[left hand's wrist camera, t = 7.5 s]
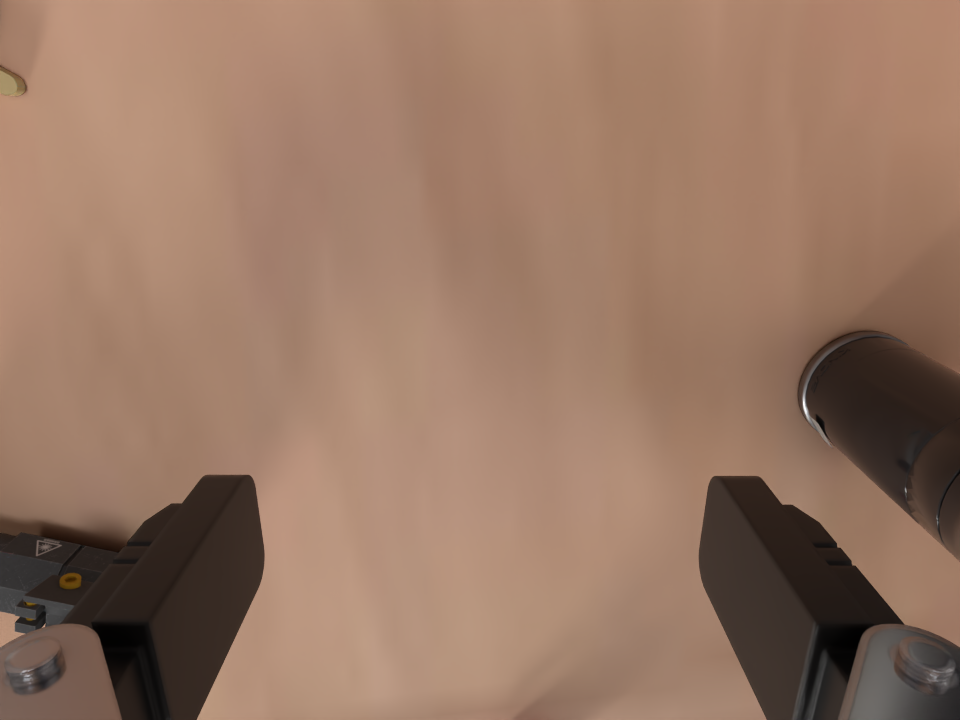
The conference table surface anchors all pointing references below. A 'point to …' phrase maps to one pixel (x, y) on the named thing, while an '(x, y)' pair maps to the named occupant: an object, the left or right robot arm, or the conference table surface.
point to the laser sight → (45, 577)
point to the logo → (10, 83)
